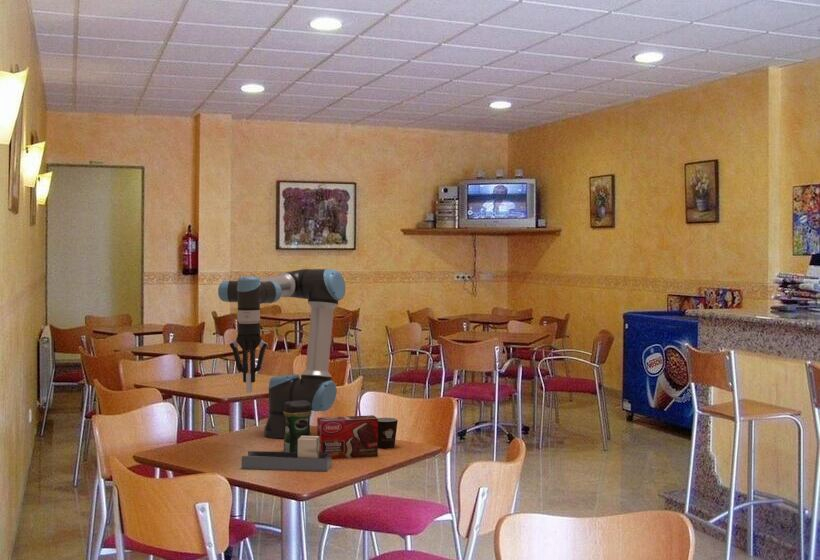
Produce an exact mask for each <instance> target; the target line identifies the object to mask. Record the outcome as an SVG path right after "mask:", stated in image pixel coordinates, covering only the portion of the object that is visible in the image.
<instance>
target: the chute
mask: <svg viewBox="0 0 820 560" xmlns="http://www.w3.org/2000/svg"><path fill="white" fill-rule="evenodd" d="M332 462H333V459H332V453H319V458H302V457H298V452H284V451H273V450H272V451H266V450H265V451H264V450H247V455H242V456H241V470H270V471H300V472H301V471H304V472H305V471H307V472H309V471H310V472H312V471H313V472H328V471H329V470H330V468H331V467H332V464H333V463H332Z"/></svg>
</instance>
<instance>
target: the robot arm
mask: <svg viewBox="0 0 820 560" xmlns="http://www.w3.org/2000/svg"><path fill="white" fill-rule="evenodd" d="M217 294H218V297H219V299H220V301H222V302H225V303H226V302H227V303H237V322H238V323H237V336H236V339H235V341H233V342H231V343H230V344H229V347H230V348H231V350H232V353H233V356H234V361H235V366H236V370H237V371H238V372H241V373H242V382H243V383H245V393H246V394H247V393H248V394H250V393H253V383H255V382H256V373H257V372H259V371H261V369H262V365H263V361H264V356H265V352H266V349H267V347H268V346H269V343H268V342H265V341H264V340H263V339H262V337H261V324H260V321H261V304H262V305H263V304H272V303H276V302H278V301H279V300H280V298H284V299H285V298H293V299H294V298H297V299H303V300H305V299H306V300H307V304H308V306H310V319H309V330H308V341H307V349H306V350H307V351H306V363H305V370H304V371H303V372H302V373H301V374H297V373H294V374H293V373H292V374H284V375H277V376H273V377H271V378H270V379H269V382H268V383H269V384H268V389H267V390H268V417H267V420H266V424H265V426H264V429H263V435H264V437H266V438H270V439H271V438H272V439H284V438H285V426H286V421H285V416H284V412H283V411H284V404H285V402H289V401H298V400H306V401H309V402H310V404H311V411H313V412H326V411H328V410H330V409H331V408H332V407H333V405H334V403H335V401H336V399H337V389H338V388H337V385H336V383H335V381H333V380H332V379H333V377H332V376H333V375H331V374H330V372H329V366H330V355H331V344H332V332H333V331H332V330H333V320H334V311H335V308H337V307H338V306H339V301H341V300H343V299H344V296H345V294H346V282H345V279H344V277H343V274H342V273H341V272H340V271H338V270H337V269H329V268H321V269H320V268H316V269H315V268H312V269H310V268H302V269H297V270H292V271H286V272H281V273H279V274H278V275H275V276H269V277H268V276H266V277H258V276H240V277H239V278H238V279H237V280H223V281H222V282H220V284H219V285H218V290H217ZM238 346H239V347H240V348H241V350H242V360H241V356H240V352H239V348H238ZM258 347H260V350H259V353H258V359H257V362H256V351H257V350H256V349H257V348H258ZM249 354H250V355H249ZM249 356H250V357H249ZM248 359H249V360H250V361H249V360H248ZM249 364H250V367H249ZM249 368H250V369H249Z"/></svg>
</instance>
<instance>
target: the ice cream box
mask: <svg viewBox="0 0 820 560" xmlns="http://www.w3.org/2000/svg"><path fill="white" fill-rule="evenodd" d="M378 418H379V417H377V416H375V415H371V414H370V415H352V416H351V415H350V416H349V415H348V416H323V417H321V416H320V417H317V419H316V420H317V422H316V423H317V425H316V427H317V428H316V433H317V434H316V436H319V453H332V460H336V459H337V460H339V459H355V458H371V457H373V458H375V457H376V458H377V457H378V455H379V454H378V450H379V448H378Z"/></svg>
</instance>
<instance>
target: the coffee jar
mask: <svg viewBox="0 0 820 560" xmlns="http://www.w3.org/2000/svg"><path fill="white" fill-rule="evenodd" d="M283 412H284V416H285V421H286V426H285V438H283V452H298V439H299V438H300V437H301V436H312V435H311V427H310V426H311V425H310V422H311V421H310V419H311V416H312V411H311V404H310V402H309V401H306V400H298V401H289V402H285V404H284V411H283Z"/></svg>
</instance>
